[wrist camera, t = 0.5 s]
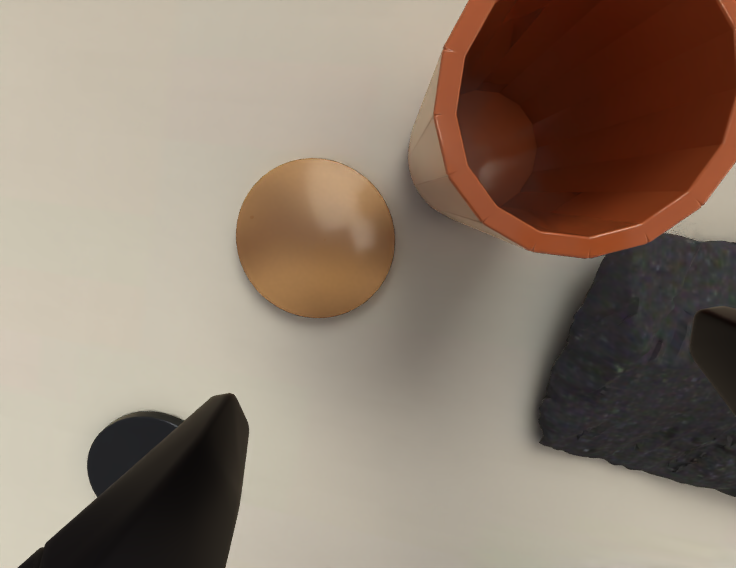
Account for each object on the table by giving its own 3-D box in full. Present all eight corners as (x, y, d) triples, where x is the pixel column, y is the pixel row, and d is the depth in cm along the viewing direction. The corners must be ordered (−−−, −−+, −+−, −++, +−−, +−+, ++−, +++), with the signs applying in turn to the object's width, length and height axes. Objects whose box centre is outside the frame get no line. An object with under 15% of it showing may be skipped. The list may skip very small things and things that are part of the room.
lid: (237, 509, 26) (226, 532, 24) (124, 533, 27) (105, 557, 25) (192, 397, 24) (177, 413, 23) (74, 427, 25) (50, 444, 24)
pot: (550, 200, 21) (775, 211, 9) (425, 235, 22) (474, 289, 10) (525, 66, 20) (748, -139, 8) (393, 107, 20) (401, -19, 8)
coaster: (411, 293, 22) (412, 296, 22) (268, 331, 23) (265, 334, 23) (370, 138, 21) (370, 136, 20) (217, 185, 22) (213, 184, 21)
